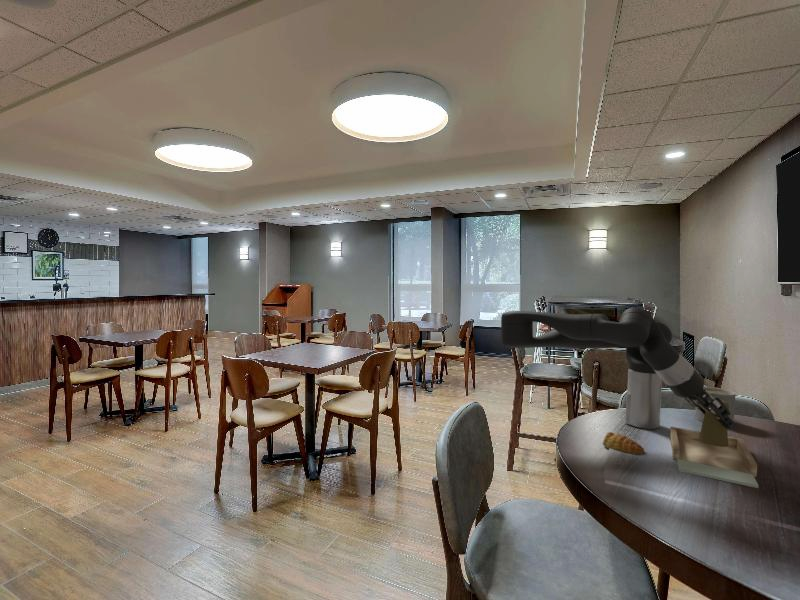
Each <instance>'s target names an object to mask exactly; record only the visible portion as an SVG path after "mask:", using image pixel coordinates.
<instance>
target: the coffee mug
mask: <svg viewBox="0 0 800 600" xmlns="http://www.w3.org/2000/svg"><path fill="white" fill-rule="evenodd" d="M703 389H705V390H707V391H708V392H709V393H710V394H711V396H712V397H713V398H716V397H717V398H720V399H721V400H724V401H726V402H727V403H728V404H729V411H730V413H731V414H730V415H728V416H729V418H730V419H731V420H732V421H733V422H734V421H735V407H736V406H735V404H736V393H735V391H732V390H730V389H726V388H720V387H713V386H704V387H703ZM694 412H695V413H694V414H695V415H694V418H695V419H696V420H697V419H698V420H697V421H699V420H700V421H699V422H701V421H702V423H703V420H704V414H703V413H702V412H701V411H700V410H698V409H697V408H696V407H695V411H694ZM734 423H735V422H734Z"/></svg>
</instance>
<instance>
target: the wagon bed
mask: <svg viewBox="0 0 800 600" xmlns="http://www.w3.org/2000/svg"><path fill="white" fill-rule="evenodd" d="M700 432H701V431H699V430H698V431H697V430H693V429H692V430H691V429H687V428H686V429H685V428H680V427H675V426H670V435H669V438H670V446H671V453H672V460H673V461H677V459H680V460H685V461H690V462H695V463H700V464H705V465H710V466H715V467H720V468H724V469H729V470H734V471H739V472H744V473H749V474H753V476H754V478H756V477H757V474H758V473H757V472H758V464H757V461H756V459H754V457H753V455H752V453H751V452H750V450H749V449H748V447H747V445H746V442H744V439H743V438H739V437H733V436H728V444H729V445H728V446H727V447H719V446H713V445H709V444H706V443H704V442H702V441H700V440H699V436H700Z"/></svg>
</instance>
